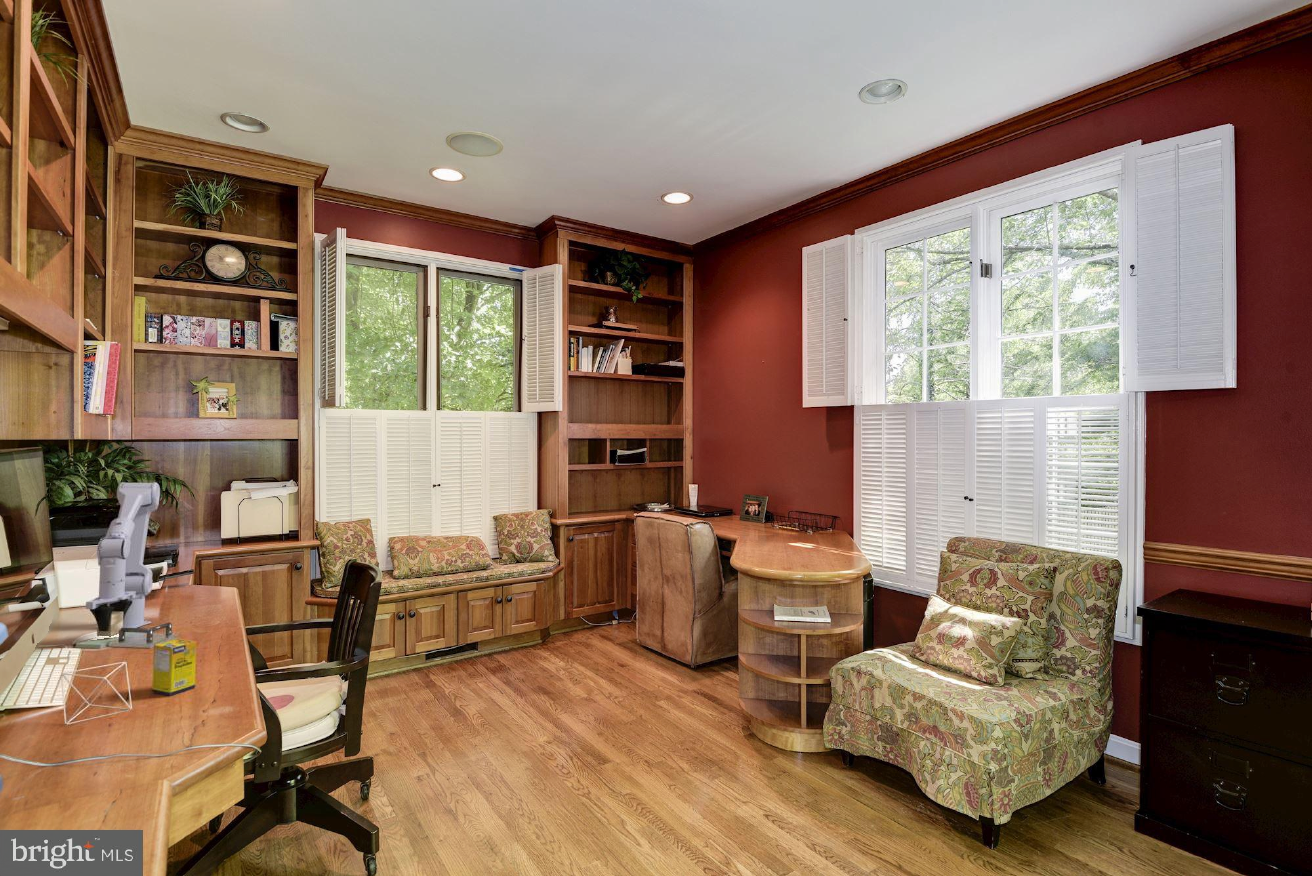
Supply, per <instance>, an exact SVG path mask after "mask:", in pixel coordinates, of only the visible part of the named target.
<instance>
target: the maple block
mask: <svg viewBox="0 0 1312 876" xmlns="http://www.w3.org/2000/svg"><path fill="white" fill-rule="evenodd" d="M122 627H123V612H118V611H112V614H111V618H110V625H109V629H108V631H99V628H98V625H97V629H96V636H97V637H99V636H109V637H111V636H114V635H117V634H119V630H120V629H121V628H122Z"/></svg>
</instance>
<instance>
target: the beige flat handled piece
mask: <svg viewBox="0 0 1312 876" xmlns="http://www.w3.org/2000/svg"><path fill="white" fill-rule="evenodd" d="M163 629H165V633H161V632H159V633H158V632H157V631H160V630H163ZM172 629H173V624H172V623H171V622H169V621H168V622H165V623H162V624H159V625H156V626H153V627H151V628H150V627H149V628H148V627H145V628H144V627H137V628H125V627H122V628H121V629H120V630H119V639H117V640H114V641H111V642H109V646H108V647H109V648H110V647H111V648H113V647H114V648H133V649H134V648H137V649H139V648H140V649H152V648H153V649H154V645H156V644H160V643H164V642H168V641H172V640H176V639H179V634H178V633H173V632H172V631H173V630H172ZM125 632H137V633H135V634H132V635H129V636H126V637H125Z"/></svg>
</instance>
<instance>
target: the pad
mask: <svg viewBox="0 0 1312 876" xmlns="http://www.w3.org/2000/svg"><path fill="white" fill-rule="evenodd" d="M135 633H137V632H125V637H126V636H129V635H132V634H135ZM117 639H119V637H114V638H104V639H97V640H90V639H89V640H90V641H87V640H84V641H80V642H77V643H75V648H76V649H77V648H79V649H97V650H98V649H100V650H101V649H104V648H107V647H109V642H111V641H114V640H117Z"/></svg>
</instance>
